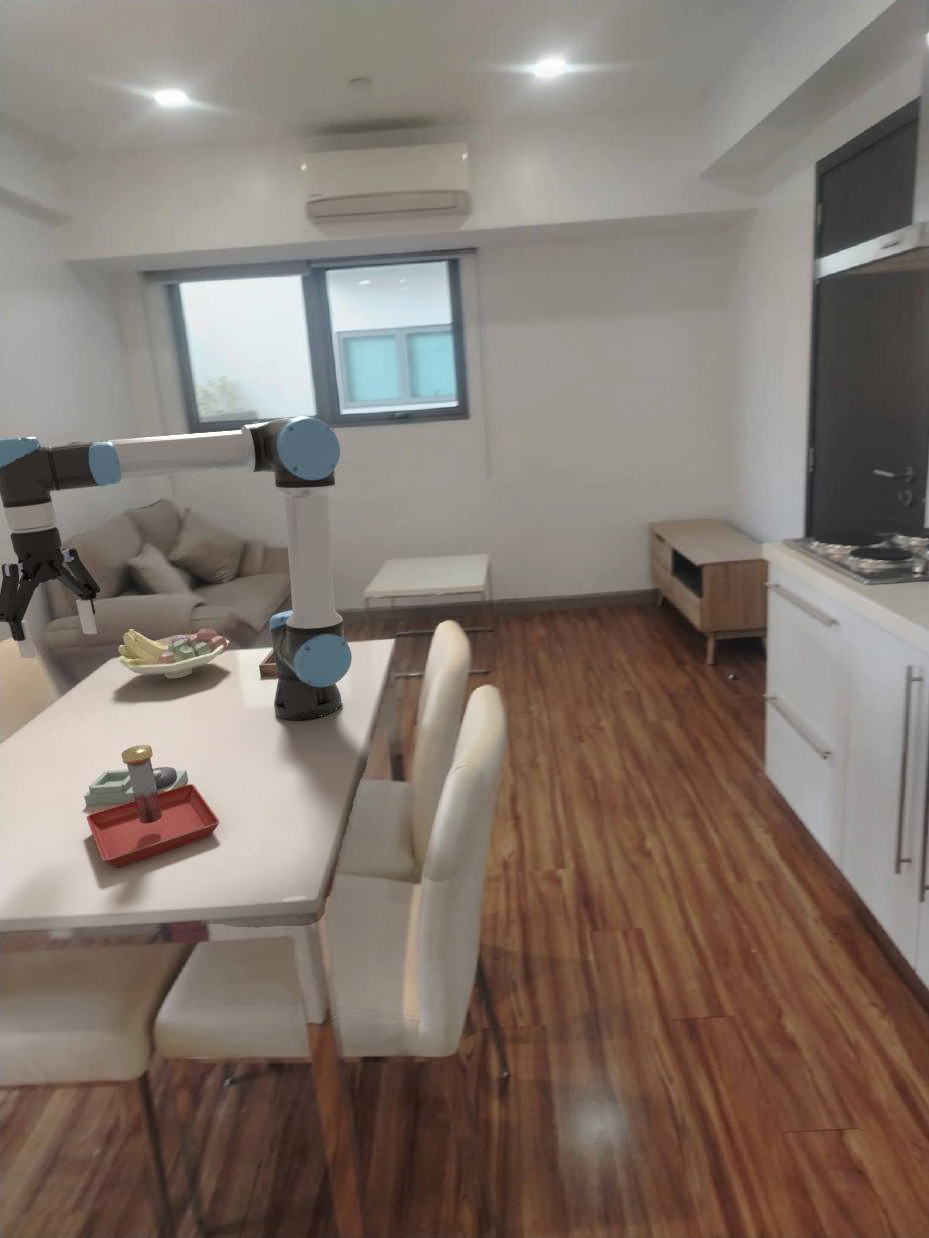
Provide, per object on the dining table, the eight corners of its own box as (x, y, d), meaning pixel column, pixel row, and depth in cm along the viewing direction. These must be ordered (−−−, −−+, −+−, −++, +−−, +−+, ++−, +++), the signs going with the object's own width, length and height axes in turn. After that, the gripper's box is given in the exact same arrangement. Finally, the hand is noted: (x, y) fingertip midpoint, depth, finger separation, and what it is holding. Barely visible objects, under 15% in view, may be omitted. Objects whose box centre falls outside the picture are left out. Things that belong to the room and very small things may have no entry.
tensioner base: (188, 779, 151) (184, 761, 150) (172, 800, 144) (168, 781, 143) (106, 784, 152) (102, 766, 151) (86, 805, 145) (81, 786, 144)
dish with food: (102, 678, 212) (93, 628, 208) (195, 649, 233) (189, 603, 228) (156, 704, 195) (148, 649, 191) (252, 670, 215) (246, 620, 211)
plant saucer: (195, 797, 145) (192, 781, 144) (224, 838, 131) (220, 820, 130) (89, 832, 136) (85, 815, 135) (107, 880, 121) (102, 861, 121)
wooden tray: (334, 650, 223) (333, 640, 222) (321, 672, 205) (319, 661, 205) (278, 654, 224) (276, 644, 223) (260, 676, 206) (258, 665, 205)
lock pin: (169, 810, 135) (156, 744, 131) (158, 824, 130) (143, 756, 127) (143, 811, 135) (129, 745, 132) (131, 825, 130) (116, 757, 127)
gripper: (75, 516, 150) (98, 624, 156) (-49, 543, 128) (-17, 667, 134) (105, 516, 147) (128, 625, 153) (-17, 543, 125) (15, 669, 131)
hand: (60, 645), depth 144 cm, fingers open, 13 cm apart
